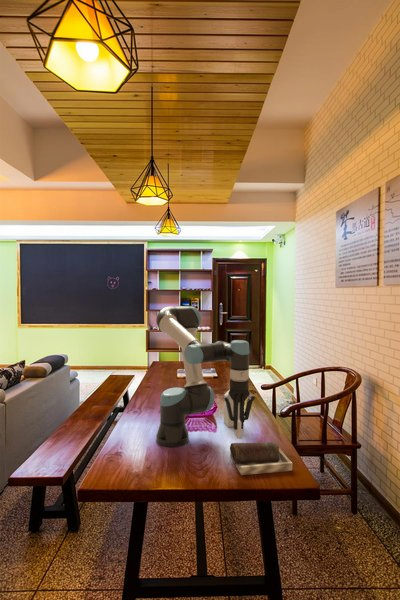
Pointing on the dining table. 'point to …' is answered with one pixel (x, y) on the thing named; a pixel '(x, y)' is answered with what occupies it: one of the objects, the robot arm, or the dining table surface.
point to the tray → (265, 466)
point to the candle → (254, 452)
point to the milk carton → (226, 416)
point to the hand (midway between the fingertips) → (238, 436)
